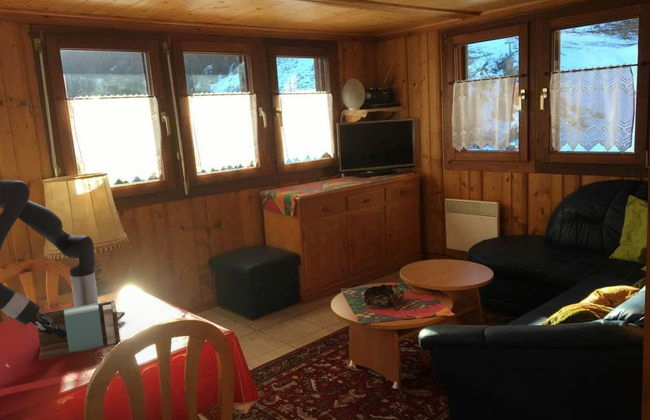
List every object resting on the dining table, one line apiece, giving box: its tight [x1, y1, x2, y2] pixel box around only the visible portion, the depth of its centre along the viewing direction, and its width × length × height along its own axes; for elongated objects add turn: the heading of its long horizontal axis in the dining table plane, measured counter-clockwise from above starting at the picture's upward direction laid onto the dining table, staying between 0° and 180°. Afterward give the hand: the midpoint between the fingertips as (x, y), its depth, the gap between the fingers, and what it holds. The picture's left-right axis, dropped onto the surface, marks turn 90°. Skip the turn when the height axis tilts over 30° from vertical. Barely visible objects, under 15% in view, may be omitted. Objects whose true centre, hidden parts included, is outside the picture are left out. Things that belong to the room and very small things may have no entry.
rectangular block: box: [64, 304, 103, 352], centre depth 193 cm, size 4×11×14 cm, turn 114°
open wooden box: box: [37, 299, 121, 361], centre depth 195 cm, size 13×26×14 cm, turn 114°
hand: (65, 335), depth 191 cm, fingers closed
